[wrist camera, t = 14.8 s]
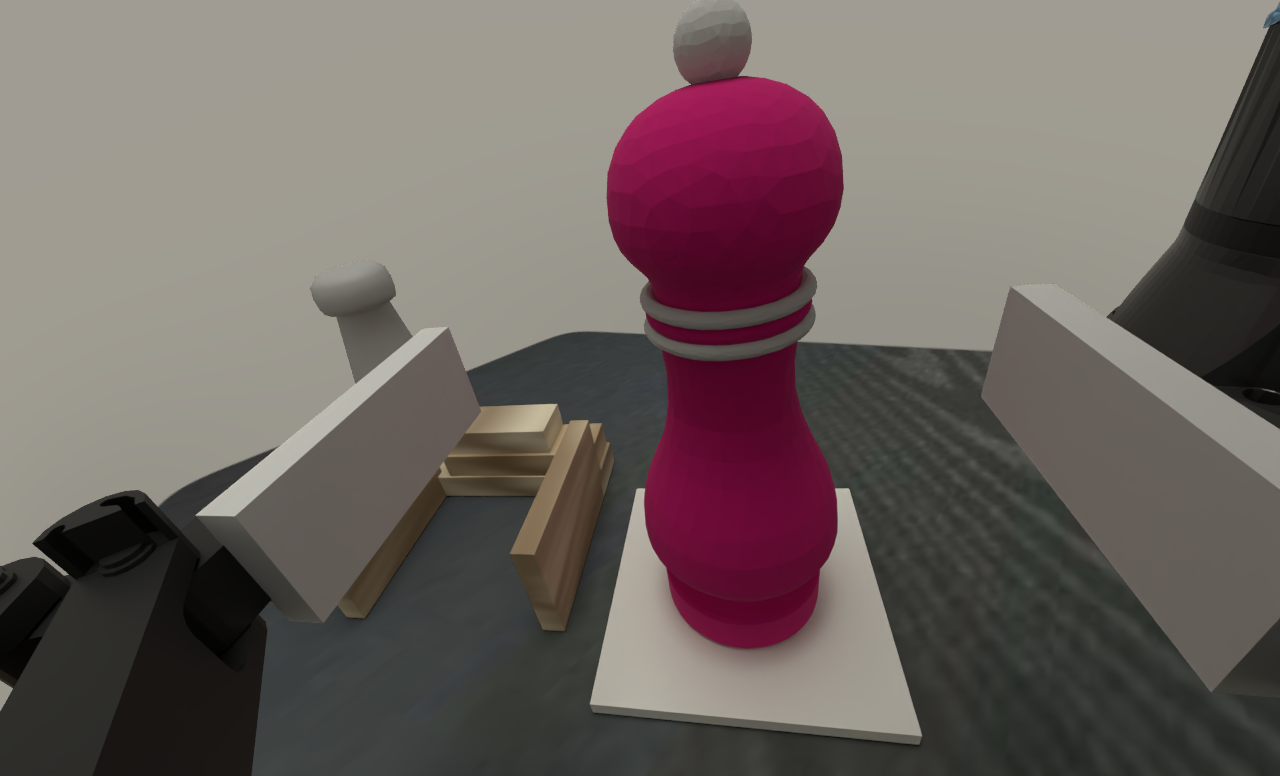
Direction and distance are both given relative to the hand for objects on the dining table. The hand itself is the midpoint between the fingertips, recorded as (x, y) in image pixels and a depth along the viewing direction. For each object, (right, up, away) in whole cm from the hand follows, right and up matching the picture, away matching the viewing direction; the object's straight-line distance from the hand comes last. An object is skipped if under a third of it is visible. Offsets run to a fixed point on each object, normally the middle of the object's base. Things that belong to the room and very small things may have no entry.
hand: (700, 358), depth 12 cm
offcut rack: (-9, -8, +14) cm, 19 cm away
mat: (+3, -10, +9) cm, 14 cm away
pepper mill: (+3, -9, +9) cm, 13 cm away
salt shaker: (-17, -5, +23) cm, 29 cm away
